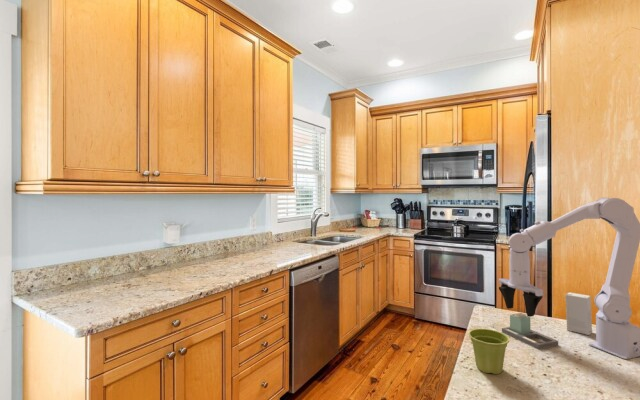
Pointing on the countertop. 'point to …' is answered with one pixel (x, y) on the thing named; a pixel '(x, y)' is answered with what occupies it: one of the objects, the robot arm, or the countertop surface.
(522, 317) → the plug
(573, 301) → the skincare box
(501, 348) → the plant pot
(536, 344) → the dock
